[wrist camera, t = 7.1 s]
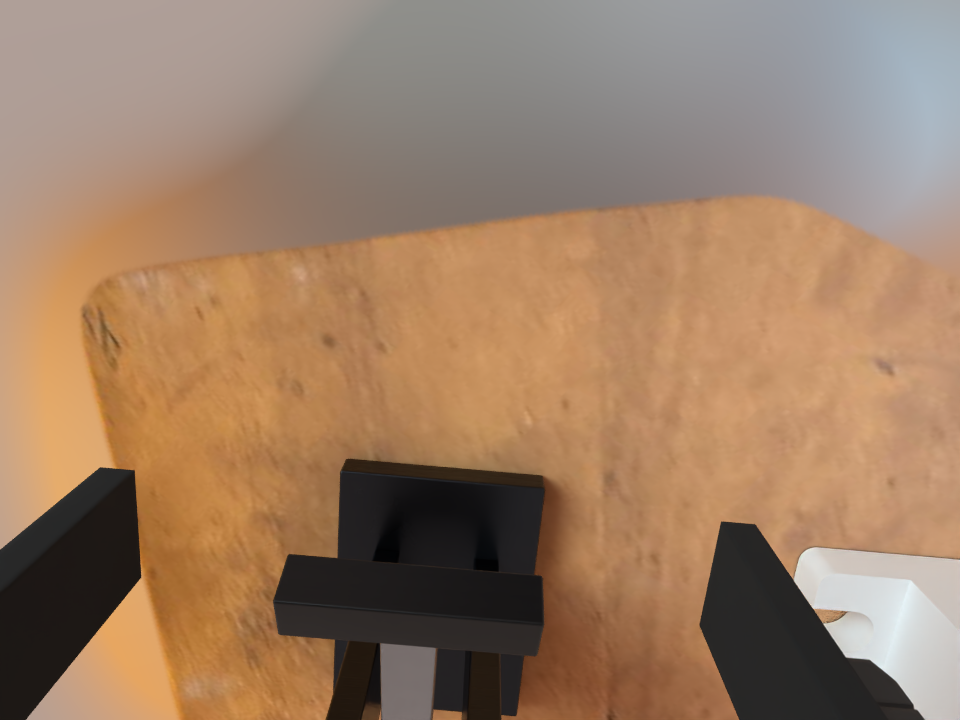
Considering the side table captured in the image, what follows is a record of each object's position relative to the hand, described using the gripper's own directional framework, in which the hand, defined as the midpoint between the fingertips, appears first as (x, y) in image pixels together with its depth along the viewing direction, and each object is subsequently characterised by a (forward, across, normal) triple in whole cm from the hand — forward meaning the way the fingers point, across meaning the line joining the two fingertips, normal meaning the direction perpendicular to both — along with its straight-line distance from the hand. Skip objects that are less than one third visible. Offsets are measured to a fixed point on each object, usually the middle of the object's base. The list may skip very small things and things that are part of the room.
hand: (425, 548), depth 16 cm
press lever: (+1, 0, -5) cm, 5 cm away
